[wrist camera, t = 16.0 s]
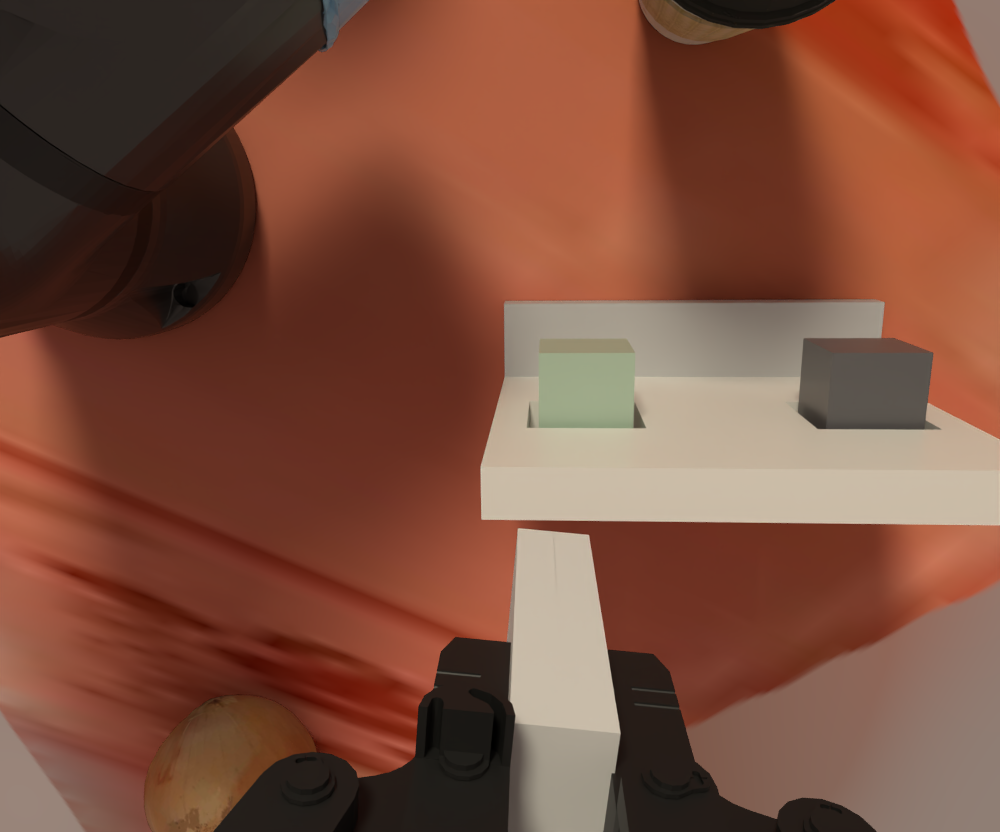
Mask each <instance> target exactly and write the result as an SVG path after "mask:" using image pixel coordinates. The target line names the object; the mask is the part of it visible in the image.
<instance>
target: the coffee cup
mask: <svg viewBox="0 0 1000 832" xmlns="http://www.w3.org/2000/svg"><path fill="white" fill-rule="evenodd" d="M834 1H835V0H639V3H640V6H641V9H642V11H643V13H644V15H645V17H646V19H647V20H648V21H649V22H650V24H651V25H652V26H653V27H654V29H656V30H657V31H658V32H659V33H661V34H662V35H663V36H665V37H667V38H669V39H671V40H673V41H675V42H679V43H683V44H692V45H699V44H705V43H710V42H713V41H718V40H724V39H728V38H731V37H733V36H736V35H739V34H742V33H744V32H747V31H750V30H753V29H763V28H769V27H775V26H780V25H786V24H790V23H792V22H795V21H797V20H800V19H802V18H805V17H808V16H810V15H813V14H815V13H816V12H818V11H820V10H821V9H823V8H824V7H826V6H827V5H829V4H831V3H832V2H834Z"/></svg>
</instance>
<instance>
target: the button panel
mask: <svg viewBox="0 0 1000 832" xmlns="http://www.w3.org/2000/svg"><path fill="white" fill-rule="evenodd" d="M884 304H885V302H882V301H879V300H875V299H809V300H594V301H505V303H504V352H505V378H504V381H503V385H502V389H501V393H500V396H499V400H498V404H497V408H496V411H495V415H494V419H493V422H492V426H491V430H490V434H489V437H488V441H487V445H486V449H485V452H484V456H483V460H482V464H481V520H565V521H657V522H748V523H840V524H931V525H1000V440H999V439H997V438H996V437H994V436H992V435H990V434H988V433H986V432H984V431H982V430H980V429H978V428H976V427H974V426H972V425H970V424H968V423H966V422H964V421H962V420H960V419H958V418H956V417H954V416H952V415H950V414H949V413H947V412H945V411H943V410H941V409H939V408H937V407H935V406H933V405H931V404H929V403H927V411H926V420H925V429H924V430H896V429H817V428H816V427H815V426H813V425H812V424H811V423H810V422H808V421H807V420H806V419H805V418H804V417H802V416H801V415H800V414H799V413H798V403H799V390H800V377H801V364H802V352H803V339H804V338H881V334H882V324H883V314H884ZM540 339H627V340H628V342H629V343H630V345H631V347H632V348H633V350H634V352H635V383H634V417H633V428H539V343H540Z"/></svg>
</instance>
